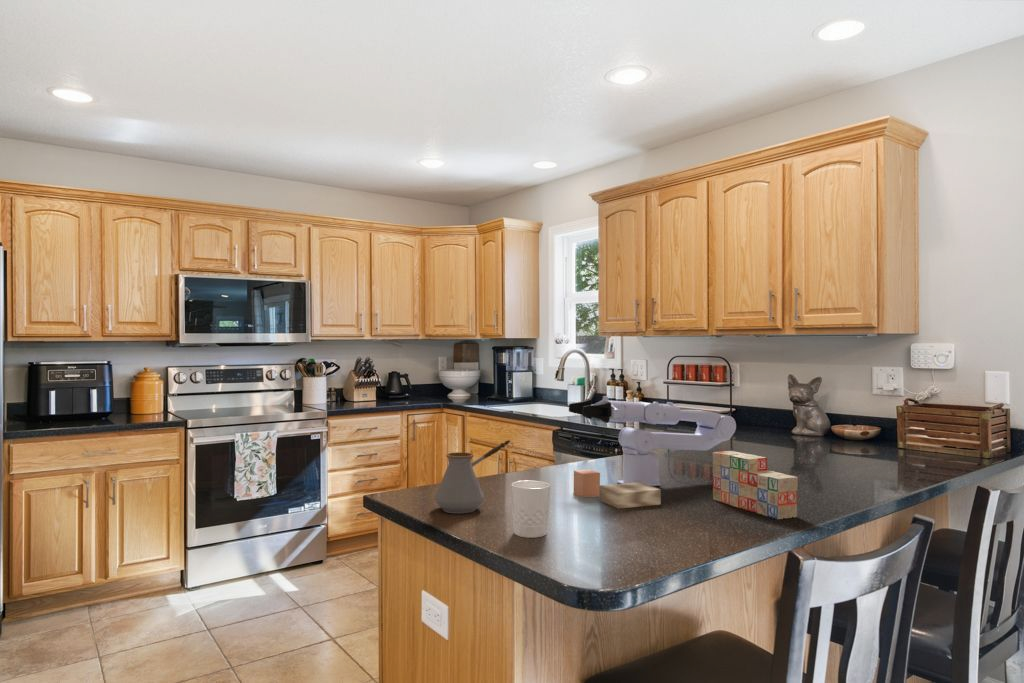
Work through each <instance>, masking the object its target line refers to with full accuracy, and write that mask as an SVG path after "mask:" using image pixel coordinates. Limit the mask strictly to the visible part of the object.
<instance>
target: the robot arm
mask: <svg viewBox="0 0 1024 683" xmlns="http://www.w3.org/2000/svg"><path fill="white" fill-rule="evenodd" d="M592 403H593V399H592V398H590V397H589V398H586V399H584V400H581V401H578V402H572V403H569V404H568V412H569V413H572V414H577V415H581V416H583V417H585V418H586V419H588V420H589V419H590V420H592V418H594V419H597V420H599V421H601V422H602V423H606V424H608V423H609V422H617V423H618V422H619V423H620V422H621V423H635V422H636V423H645V424H649V425H657V424H659V425H677V424H678V423H679V421H682V422H683V421H685V422H693V423H696V425H697V427H696V429H695V431H694V433H685V432H684V433H683V432H681V433H680V432H661V431H660V432H658V431H650V430H644V429H640V428H639V429H638V428H634V427H631V426H626V427H623V428H622V429H621V430H620V431H619V434H618V437H617V438H618V443H619V445H620V446H621V447H622V452H623V453H622V480H621V479H620V480H616V484H624V483H637V482H641V483H644V484H647V485H649V486H652V487H657V486H658V487H659V486H661V483H659V472H660V470H659V466H660V465H659V464H660V463H659V459H658V456H657V454H656V453H654V451H658V450H680V451H681V450H683V451H685V450H686V451H709V450H711V449H712V448H714V447H716V446H717V445H719V444H721V443H722V442H726V441H730V440H731V438H732V437H733V435H734V434H735V432H736V430H737V423H736V420H735V418H733V417H732V416H731V415H724V414H721V413H719V412H718V413H717V412H714V411H709V410H701V409H681V408H680V407H679V406H678V405H677V404H674V402H671V401H667V402H666V403H659V402H658V401H653V402H645V401H638V402H637V401H636V402H635V401H624V400H609V396H608V395H603V396H602V399H601V400H599V401H598V402H595V403H593V404H592Z"/></svg>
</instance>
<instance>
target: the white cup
mask: <svg viewBox="0 0 1024 683" xmlns="http://www.w3.org/2000/svg"><path fill="white" fill-rule="evenodd" d="M510 485H511V509H512V510H511V511H512V521H513V523H512V524H513V525H512V526H513V534H514V535H515V536H517V537H521V538H527V539H528V538H532V539H533V538H541V537H544V536H546V534H548V520H549V508H550V489H551V488H550V487H551V484H550V483H548V482H546V481H540V480H532V479H531V480H518V481H514V482H512V483H511V484H510Z"/></svg>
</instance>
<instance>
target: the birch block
mask: <svg viewBox="0 0 1024 683" xmlns="http://www.w3.org/2000/svg"><path fill="white" fill-rule="evenodd" d="M661 492H662V490H661V489H660V488H658V487H656V486H649V485H647V484H644V483H641V482H637V483H624V484H620V483H615V484H613V483H612V484H602V485H601V484H600V485H599V496H598V497H599V498H598V499H599V501H600V502H602V503H605V504H607V505H610V506H611V507H614V508H616V509H626V508H627V509H628V508H638V507H647V506H659V505H661V503H662V498H661V497H662V494H661Z"/></svg>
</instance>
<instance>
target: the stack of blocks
mask: <svg viewBox="0 0 1024 683" xmlns="http://www.w3.org/2000/svg"><path fill="white" fill-rule="evenodd" d="M798 480H799V478H798V476H794V475H790V474H785V473H782V472H776V471H773V470H768V457H766V456H760V455H756V454H751V453H743V452H738V451H735V450H722V451H714V452H712V500H713V501H717V502H720V503H723V504H727V505H729V506H732V507H736V508H739V509H742V510H745V511H749V512H752V513H755V512H756V514H759V515H761V514H762V515H761V516H765V517H768V516H769V517H768V518H771V517H772V519H774V518H775V520H784V519H783V518H785V519H791V518H792V517H793V518H797V517H798V485H799V484H798V483H799V482H798ZM793 518H792V519H793Z"/></svg>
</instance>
